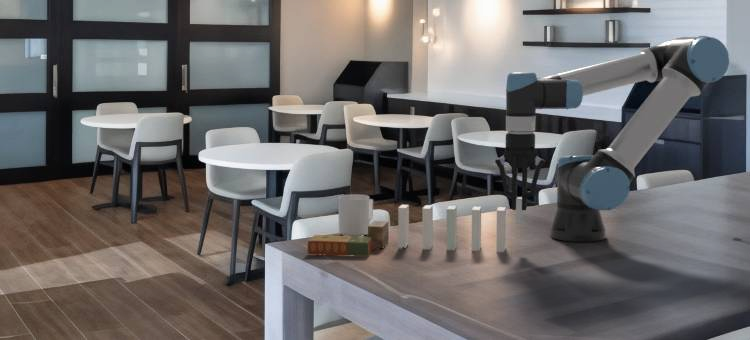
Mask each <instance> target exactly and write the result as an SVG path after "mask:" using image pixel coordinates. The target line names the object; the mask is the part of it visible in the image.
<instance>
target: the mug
mask: <svg viewBox="0 0 750 340" xmlns="http://www.w3.org/2000/svg"><path fill="white" fill-rule="evenodd" d="M337 200H338V201H337V202H338V204H337V205H338V208H337V209H338V233H339V234H340V235H341V234H342V235H349V236H361V235H366V234H367V235H368V226H369V225H370V224H371V223H370V222H371V220H372V219H373V216H374V199H372V198H370V196H369V195H367V194H358V193H357V194H356V193H355V194H343V195H340V196H338V198H337ZM342 235H341V236H342ZM367 235H366V236H367Z"/></svg>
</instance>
